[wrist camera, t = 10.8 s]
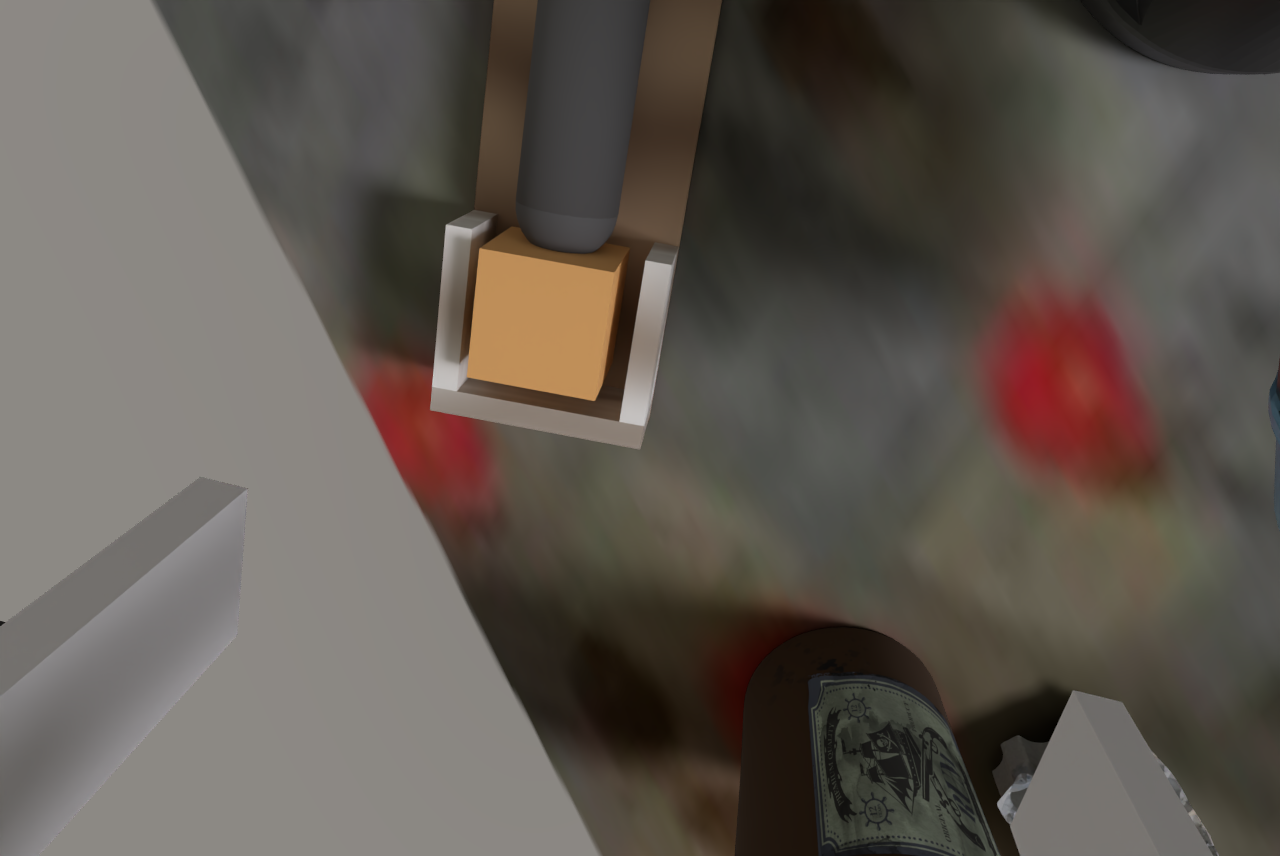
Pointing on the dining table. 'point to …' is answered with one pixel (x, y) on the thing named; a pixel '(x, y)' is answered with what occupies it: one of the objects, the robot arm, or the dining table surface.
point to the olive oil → (852, 755)
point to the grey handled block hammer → (564, 207)
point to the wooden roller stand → (644, 225)
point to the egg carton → (1023, 764)
